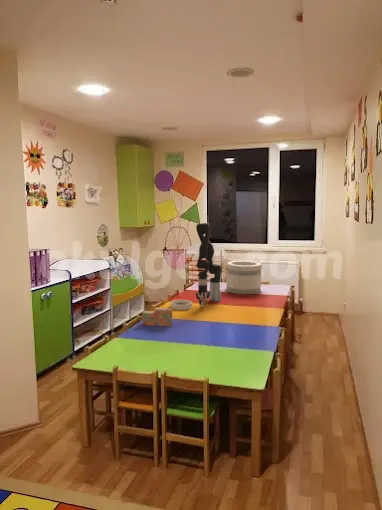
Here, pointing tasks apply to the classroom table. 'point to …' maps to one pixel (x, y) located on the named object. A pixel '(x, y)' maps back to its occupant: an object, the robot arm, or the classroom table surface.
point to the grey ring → (181, 304)
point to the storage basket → (243, 277)
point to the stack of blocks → (157, 317)
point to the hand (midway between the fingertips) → (202, 303)
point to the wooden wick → (203, 301)
